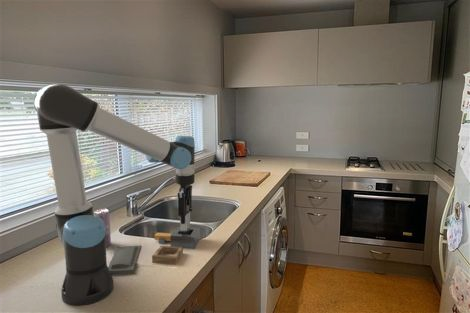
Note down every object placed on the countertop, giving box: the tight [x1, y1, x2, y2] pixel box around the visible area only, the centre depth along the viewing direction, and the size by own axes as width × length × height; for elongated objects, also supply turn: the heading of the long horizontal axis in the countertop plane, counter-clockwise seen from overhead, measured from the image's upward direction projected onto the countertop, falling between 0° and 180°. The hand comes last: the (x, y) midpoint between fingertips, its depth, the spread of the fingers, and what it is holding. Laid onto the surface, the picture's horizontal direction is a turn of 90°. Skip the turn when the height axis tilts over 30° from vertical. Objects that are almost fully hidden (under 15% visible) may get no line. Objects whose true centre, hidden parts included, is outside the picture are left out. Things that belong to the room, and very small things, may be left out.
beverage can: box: [93, 208, 112, 248], centre depth 136 cm, size 6×6×15 cm
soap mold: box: [107, 245, 142, 276], centre depth 124 cm, size 10×20×4 cm, turn 8°
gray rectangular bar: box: [180, 205, 191, 235], centre depth 137 cm, size 4×4×16 cm
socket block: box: [158, 225, 201, 250], centre depth 139 cm, size 10×16×6 cm, turn 82°
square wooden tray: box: [151, 245, 184, 265], centre depth 125 cm, size 9×9×4 cm
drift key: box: [154, 232, 172, 242], centre depth 139 cm, size 3×7×2 cm, turn 82°
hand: (185, 228), depth 137 cm, fingers closed on gray rectangular bar, 4 cm apart
